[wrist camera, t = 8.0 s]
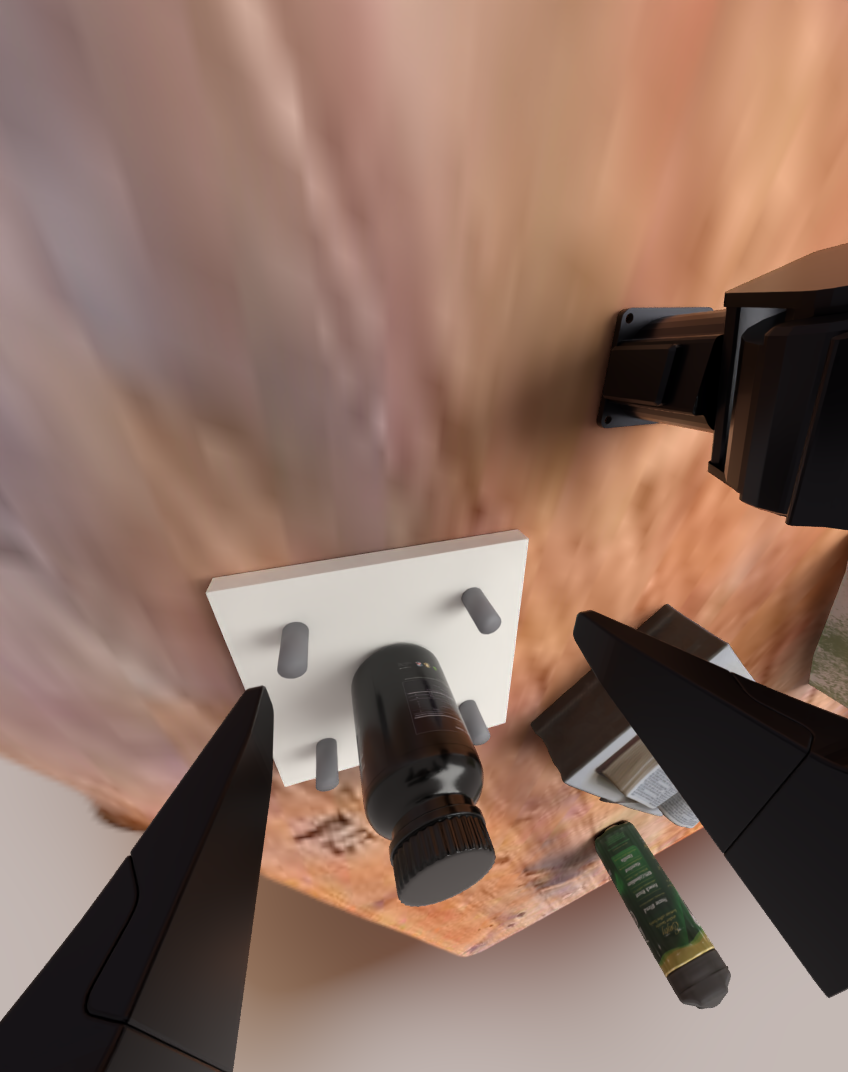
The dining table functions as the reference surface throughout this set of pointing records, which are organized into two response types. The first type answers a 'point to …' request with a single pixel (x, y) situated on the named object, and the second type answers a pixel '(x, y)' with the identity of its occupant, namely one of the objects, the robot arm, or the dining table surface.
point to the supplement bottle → (419, 774)
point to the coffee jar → (663, 918)
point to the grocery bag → (833, 650)
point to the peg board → (372, 637)
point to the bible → (624, 730)
